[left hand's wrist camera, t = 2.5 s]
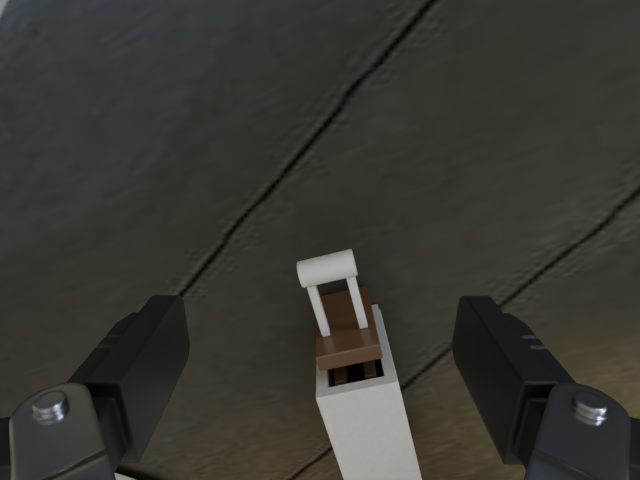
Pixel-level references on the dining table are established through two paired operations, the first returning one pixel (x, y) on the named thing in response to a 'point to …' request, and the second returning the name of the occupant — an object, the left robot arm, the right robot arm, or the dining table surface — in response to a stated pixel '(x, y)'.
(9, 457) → the left robot arm
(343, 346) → the drawer
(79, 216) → the dining table surface
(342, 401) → the cabinet
